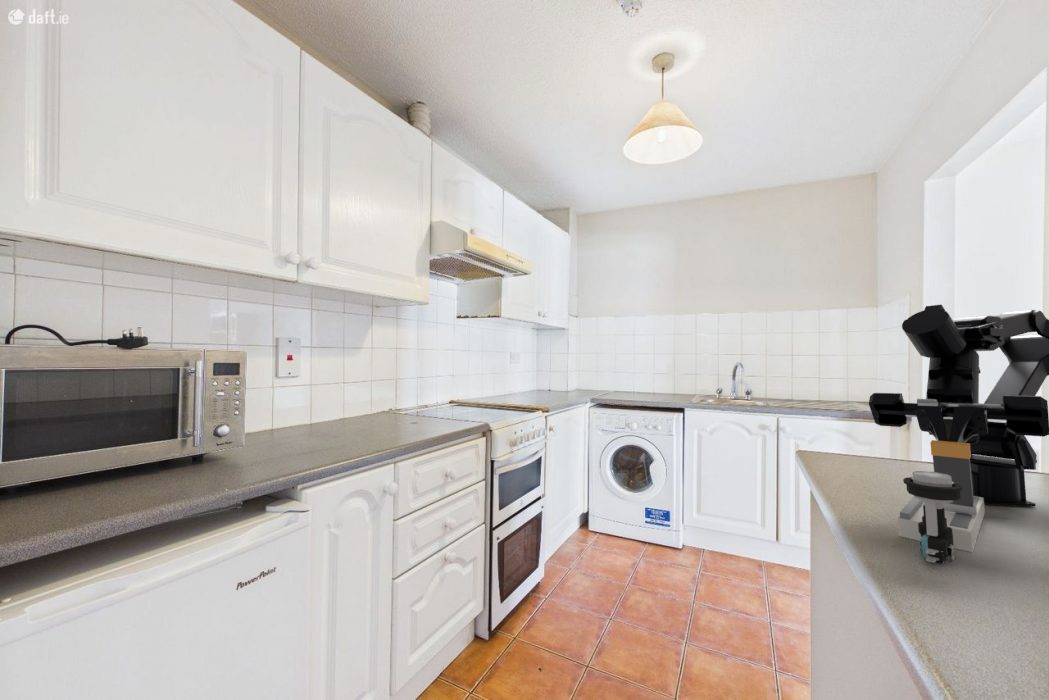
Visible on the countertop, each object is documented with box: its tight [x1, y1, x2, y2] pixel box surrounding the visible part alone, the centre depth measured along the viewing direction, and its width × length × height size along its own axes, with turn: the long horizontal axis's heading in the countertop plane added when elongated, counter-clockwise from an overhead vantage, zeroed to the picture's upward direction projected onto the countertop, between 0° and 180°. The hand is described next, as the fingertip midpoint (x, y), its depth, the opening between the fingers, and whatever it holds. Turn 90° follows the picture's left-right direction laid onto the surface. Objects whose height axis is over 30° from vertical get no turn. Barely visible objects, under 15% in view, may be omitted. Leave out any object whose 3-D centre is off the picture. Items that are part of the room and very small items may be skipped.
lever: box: [929, 439, 977, 516], centre depth 60 cm, size 2×4×10 cm, turn 40°
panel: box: [897, 495, 986, 553], centre depth 63 cm, size 20×7×3 cm, turn 130°
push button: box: [902, 470, 963, 564], centre depth 52 cm, size 7×5×10 cm
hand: (948, 457), depth 60 cm, fingers closed, pressing on lever
